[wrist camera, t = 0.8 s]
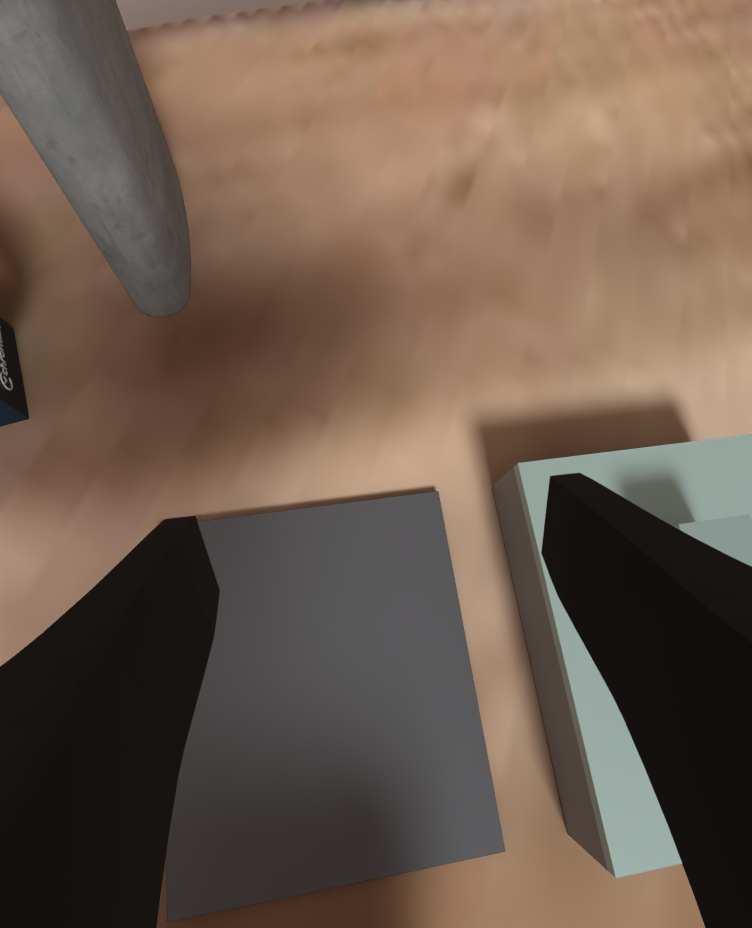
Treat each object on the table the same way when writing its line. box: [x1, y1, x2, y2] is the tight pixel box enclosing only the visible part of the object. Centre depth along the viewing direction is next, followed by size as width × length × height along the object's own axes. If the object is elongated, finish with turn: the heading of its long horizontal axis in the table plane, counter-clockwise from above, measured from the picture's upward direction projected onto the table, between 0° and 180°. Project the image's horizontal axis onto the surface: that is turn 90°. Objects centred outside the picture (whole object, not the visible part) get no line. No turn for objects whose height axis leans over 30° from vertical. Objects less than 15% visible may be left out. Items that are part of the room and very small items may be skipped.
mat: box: [166, 491, 505, 922], centre depth 24 cm, size 16×14×1 cm
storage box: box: [492, 467, 607, 870], centre depth 24 cm, size 16×12×4 cm
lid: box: [514, 434, 752, 878], centre depth 21 cm, size 16×12×4 cm
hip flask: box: [0, 0, 191, 317], centre depth 22 cm, size 16×4×20 cm, turn 15°
